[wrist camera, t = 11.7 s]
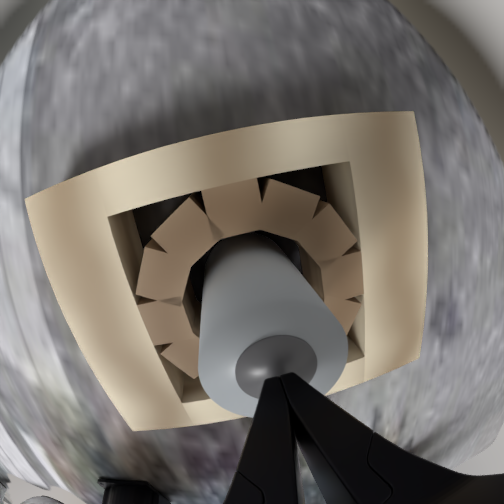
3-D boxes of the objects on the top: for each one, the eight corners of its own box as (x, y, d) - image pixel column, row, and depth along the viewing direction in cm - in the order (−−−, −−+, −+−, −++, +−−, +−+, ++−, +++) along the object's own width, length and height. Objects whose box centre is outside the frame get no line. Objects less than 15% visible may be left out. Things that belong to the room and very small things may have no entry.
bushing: (216, 319, 16) (222, 431, 8) (194, 243, 15) (175, 325, 7) (293, 299, 16) (350, 398, 9) (279, 223, 15) (346, 282, 7)
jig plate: (141, 394, 17) (132, 431, 14) (59, 191, 13) (24, 199, 10) (392, 331, 18) (419, 358, 15) (376, 119, 14) (413, 111, 11)
